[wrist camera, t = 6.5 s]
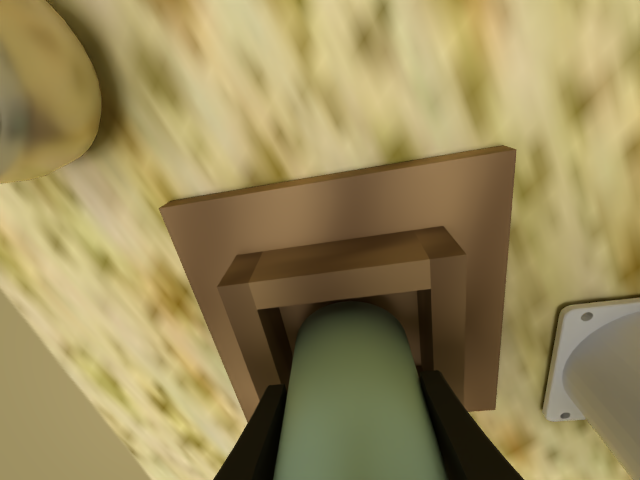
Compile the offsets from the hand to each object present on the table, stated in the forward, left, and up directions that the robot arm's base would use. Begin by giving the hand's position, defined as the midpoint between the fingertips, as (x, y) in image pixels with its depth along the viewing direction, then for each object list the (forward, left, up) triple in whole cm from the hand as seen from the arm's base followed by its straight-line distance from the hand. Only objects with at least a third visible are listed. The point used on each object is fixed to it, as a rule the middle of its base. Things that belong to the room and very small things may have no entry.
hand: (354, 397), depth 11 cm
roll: (0, 0, -2) cm, 2 cm away
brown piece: (0, 0, -5) cm, 5 cm away
